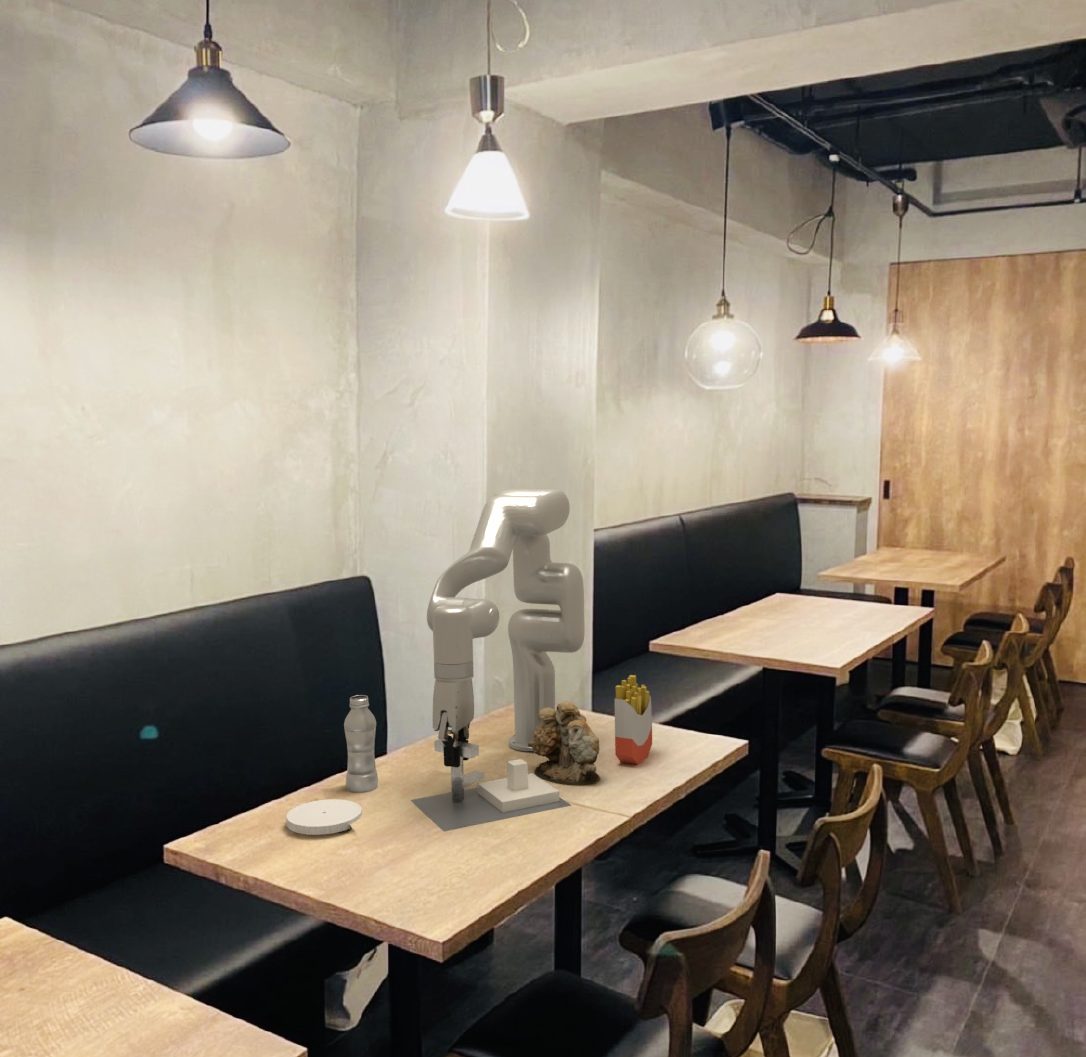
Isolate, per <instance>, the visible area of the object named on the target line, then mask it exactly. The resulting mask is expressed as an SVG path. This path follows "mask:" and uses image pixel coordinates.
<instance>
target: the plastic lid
mask: <svg viewBox="0 0 1086 1057" xmlns="http://www.w3.org/2000/svg"><path fill="white" fill-rule="evenodd" d="M362 816H363V808H362V806H361V805H360V804H359V803H357V802H355V801H351V800H348V799H347V800H346V799H338V798H336V799H333V798H330V799H320V800H313V801H308V802H305V803H302V804H299V805H296V806H294V807H293V808H291V809H290V810H289V811H287V813H286V816H285V821H286V822H285V823H286V828H287V829H289V830H290V831H292V832H294V833H297V834H300V835H307V836H308V835H309V836H310V835H313V836H315V835H317V836H318V835H319V836H321V835H329V834H331V835H332V834H336V833H339V832H343V831H347V830H350V829H352V828H353V827H352V825H351V824H354V823H356V822H357V821H358V820H359V819H361V817H362Z"/></svg>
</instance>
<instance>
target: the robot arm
mask: <svg viewBox="0 0 1086 1057" xmlns="http://www.w3.org/2000/svg"><path fill="white" fill-rule="evenodd" d="M569 501H570V500H569V499H568V496H567V495H566V493H565V492H564V491H563V490H560V489H555V488H553V489H552V488H510V489H509V488H508V489H507V488H506V489H503V490H499V491H497V492H496V493H495V494H494V496H492V497H490V498H489V499H488V500H487V501H486V502H485V504H484V505H483V508H482V510H481V511H482V512H481V513H480V516H479V521H478V522H477V526H476V529H475V531H474V532H475V533H474V534H473V538H472V541H471V544H470V547H469V550H468V551H467V552H466V553H465V554H463V555H462V556H460V558H458V559H457V560H455V561H454V562H453V563H452V564H450V566H448V568H447V569H445V570H444V571H443V572H442V573H441V575H440V576H439V577H438V579H437V580H436V582H435V585H434V588H433V591H432V594H431V596H430V599H429V602H428V604H427V605H428V607H427V609H426V610H427V611H426V624H427V626H428V628H429V629H430V630H431V631H432V642H433V674H434V675H433V676H434V678H433V679H435V680H434V686H433V694H432V729H433V732H438V734H437V738H438V739H440V740H442V746H443V749H444V753H443V765H444V766H445V767H450V768H451V767H459V766H460V746H458V741H461V742H466V743H469V738H470V724H471V723H472V722H473V720H474V718H475V698H474V697H475V696H474V687H473V678H474V674H475V673H474V645H473V644H474V642H473V640H474V639H480V638H485V637H488V636H490V635H492V634H493V633H494V632H495V631H496V629H497V627H498V625H499V622H500V611H499V609H498V607H497V605H496V603H494V602H493V601H491V600H488V599H485V598H484V599H483V598H473V597H472V598H470V597H456V596H457V595H459V593H460V592H461V591H462V590H464V589H465V588H466V587H468V586H471V585H473V584H474V583H476V582H479V581H482V580H484V579H487V578H491V577H493V576H495V575H497V574H499V573H501V572H503V571H504V570H505V569H506V568H507V567H508V564H509V562H510V559H511V555H512V566H513V567H512V569H513V571H512V572H513V573H512V574H513V590H514V594H515V597H516V599H517V600H518V601H520V603H521V602H522V603H526V604H531V605H532V604H533V605H534V604H535V605H552V606H553V605H554V606H558V607H559V610H558V609H546V608H545V609H543V608H524V609H519V610H517V611H515V612H514V613H512V615H511V616H510V618H509V620H508V624H507V633H508V638H509V644H510V647H511V655H512V668H513V669H512V670H513V671H512V672H513V673H512V674H513V704H514V705H513V714H514V716H513V717H514V735H511V736H510V737H509V738H508V746H509V748H511V749H514V750H517V751H520V750H521V751H520V752H527V751H533V748H532V747H529V746H528V742H530V741H533V740H534V739H533V735H534V732H535V731H536V727H537V726H538V724H539V720H538V718H539V717H538V714H539V711H540V710H541V709H544V708H553V709H554V710H556V673H555V672H556V671H555V666H554V664H553V661H552V660H551V658H550V656H549V655H548V654H547V652H548V653H549V652H550V653H565V654H566V653H567V654H568V653H569V654H570V653H571V654H573V653H577V652H578V651H579V650H580V649H581V648H582V646H583V644H584V639H585V590H584V579H583V578H584V577H583V575H582V573H581V570H580V569H579V567H578V566H576V565H575V564H573V563H569V562H568V563H567V562H552V560H551V548H550V547H551V546H550V538H549V536H548V534H550V533H552V532H554V531H557V530H559V529H560V528H562V527H563V526H564V525H565V523H566V522H567V520H568V518H569V515H570V508H571V507H570V502H569ZM449 728H451V729H449ZM469 759H470V758H466V757H463V761H468V760H469Z"/></svg>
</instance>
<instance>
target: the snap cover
mask: <svg viewBox="0 0 1086 1057" xmlns="http://www.w3.org/2000/svg"><path fill="white" fill-rule="evenodd" d="M506 766H507V767H506V768H507V769H506V772H507V777H504V778H498V779H495V780H494V779H493V780H488V781H483V782H477V787H478V794H480V795H481V796H482V797H483V798H485V799H486V800H487V801H489V802H490V803H491V804H492V805H494V806H495V807H496V808H498V809H499V810H500V811H501V812H508V811H513V810H518V809H523V808H528V807H533V806H538V805H543V804H548V803H553V802H558V801H560V798H561V797H560V790H558V789H557V788H555V787H554V786H552V785H551V784H550V783H549V782H548V783H547V781H545V780H543V779H540V778H539V777H537V776H536V775H535V774H534V772H533V773H532V772H531V773H529V771H528V770H529V768H528V766H529V765H528V762H527V761H525V760H523V759H522V758H518V759H513V760H508V761H507V762H506ZM559 797H560V798H559Z"/></svg>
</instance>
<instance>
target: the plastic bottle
mask: <svg viewBox="0 0 1086 1057" xmlns="http://www.w3.org/2000/svg"><path fill="white" fill-rule="evenodd" d="M368 696H369V695H366V694H365V695H364V694H359V695H358V694H357V695H354V696H353V695H352V696H351V697H350V698H349V709H350V711H349V712H348V714H347V715H346V717H345V719H344V723H343V726H344V728H343V729H344V734H345V739H346V749H347V770H346V776H345V788H346V790H347V791H348V792H350V793H355V794H356V793H367V792H371V791H374V790H376V789H377V788H378V786H379V785H378V784H379V778H378V776H379V775H378V771H377V766H376V757H375V741H376V740H375V739H376V731H377V730H376V729H377V728H376V727H377V721H376V720H377V719H376V718H375V715H374V714H373V713H372V711H371V710H370V709H369V706H370V703H369V697H368Z"/></svg>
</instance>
